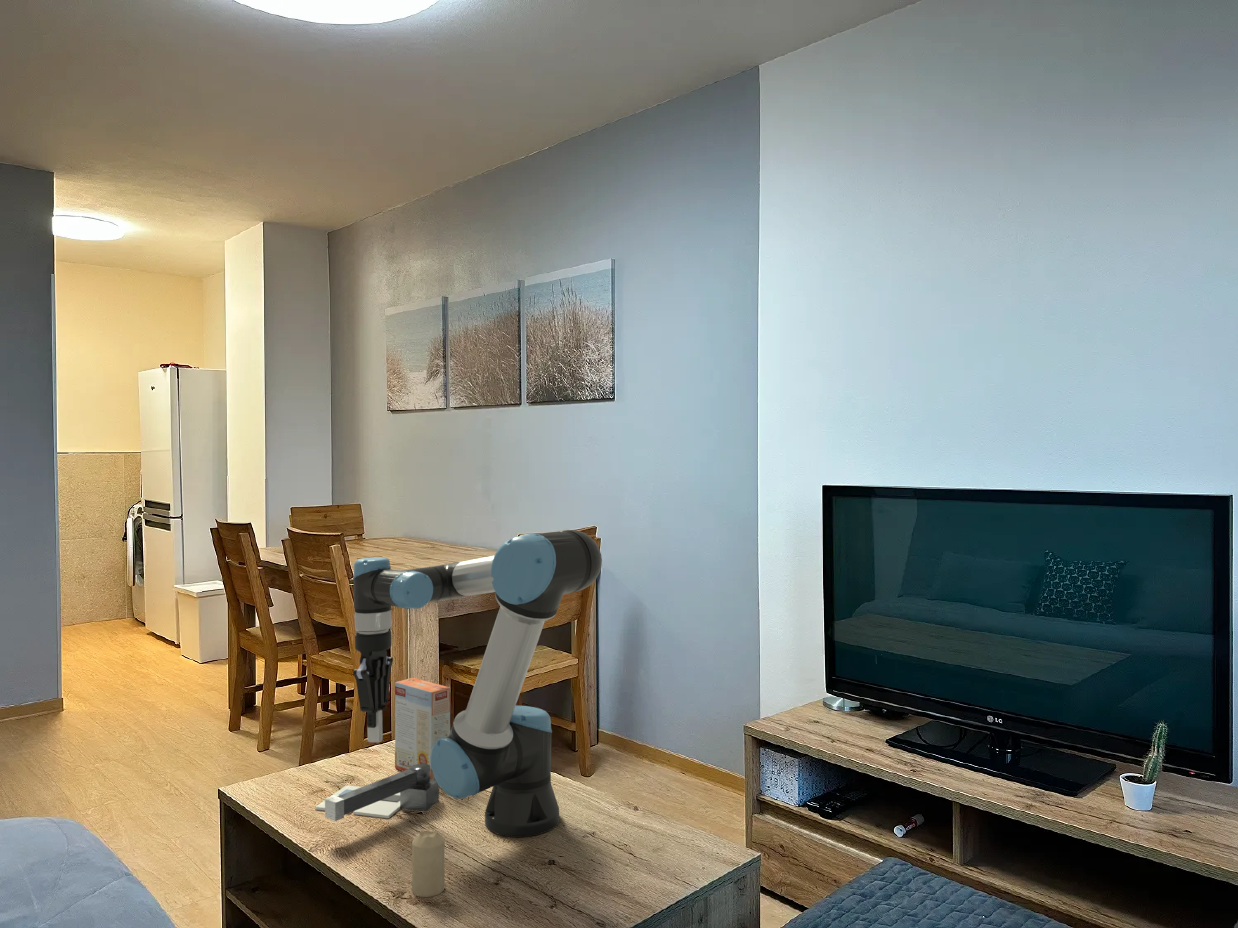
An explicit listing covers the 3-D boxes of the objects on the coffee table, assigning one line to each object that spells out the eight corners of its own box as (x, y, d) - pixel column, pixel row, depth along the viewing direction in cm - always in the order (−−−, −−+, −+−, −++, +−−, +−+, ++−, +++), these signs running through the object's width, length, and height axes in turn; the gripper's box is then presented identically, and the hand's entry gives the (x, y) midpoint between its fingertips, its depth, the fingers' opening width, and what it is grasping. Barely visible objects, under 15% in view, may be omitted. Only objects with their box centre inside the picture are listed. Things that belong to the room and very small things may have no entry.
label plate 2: (415, 795, 192) (415, 792, 192) (388, 818, 180) (388, 814, 180) (382, 791, 194) (382, 788, 194) (353, 814, 182) (353, 810, 182)
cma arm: (420, 777, 190) (420, 760, 190) (434, 781, 188) (434, 765, 188) (323, 816, 170) (323, 797, 170) (337, 821, 168) (337, 803, 168)
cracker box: (451, 775, 204) (451, 686, 203) (430, 783, 199) (430, 692, 199) (414, 761, 213) (414, 675, 212) (393, 768, 208) (393, 680, 208)
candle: (446, 881, 155) (447, 825, 155) (441, 897, 149) (441, 839, 149) (415, 881, 155) (415, 825, 154) (409, 897, 149) (409, 839, 149)
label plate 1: (378, 791, 194) (378, 787, 194) (349, 813, 183) (349, 809, 183) (346, 787, 196) (346, 784, 196) (315, 809, 185) (315, 805, 185)
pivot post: (438, 800, 190) (438, 779, 189) (426, 811, 184) (426, 790, 184) (413, 797, 191) (413, 777, 191) (400, 808, 185) (400, 787, 185)
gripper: (372, 624, 194) (374, 730, 194) (340, 636, 181) (342, 749, 182) (403, 625, 192) (405, 732, 192) (373, 637, 180) (375, 752, 180)
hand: (375, 740), depth 187 cm, fingers closed
